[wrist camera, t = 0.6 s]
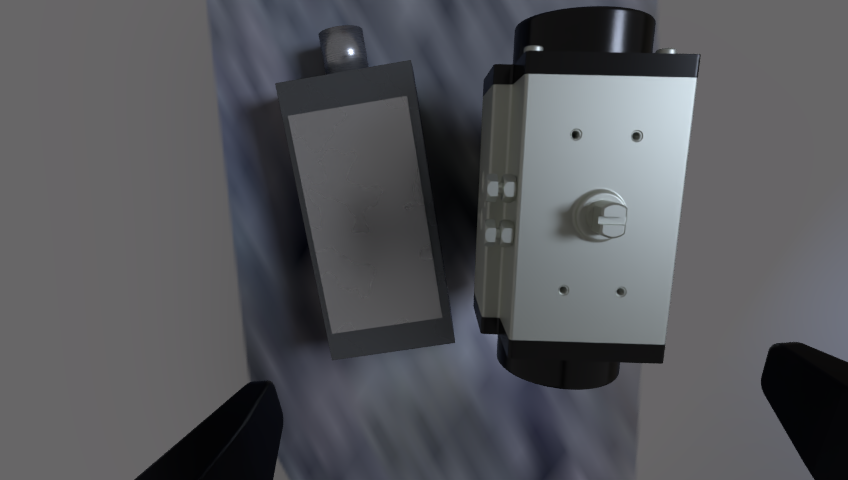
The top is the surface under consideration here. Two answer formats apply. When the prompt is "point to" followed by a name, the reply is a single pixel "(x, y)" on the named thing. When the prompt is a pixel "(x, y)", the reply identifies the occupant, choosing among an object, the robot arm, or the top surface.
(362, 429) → the top surface
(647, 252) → the pneumatic valve
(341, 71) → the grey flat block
